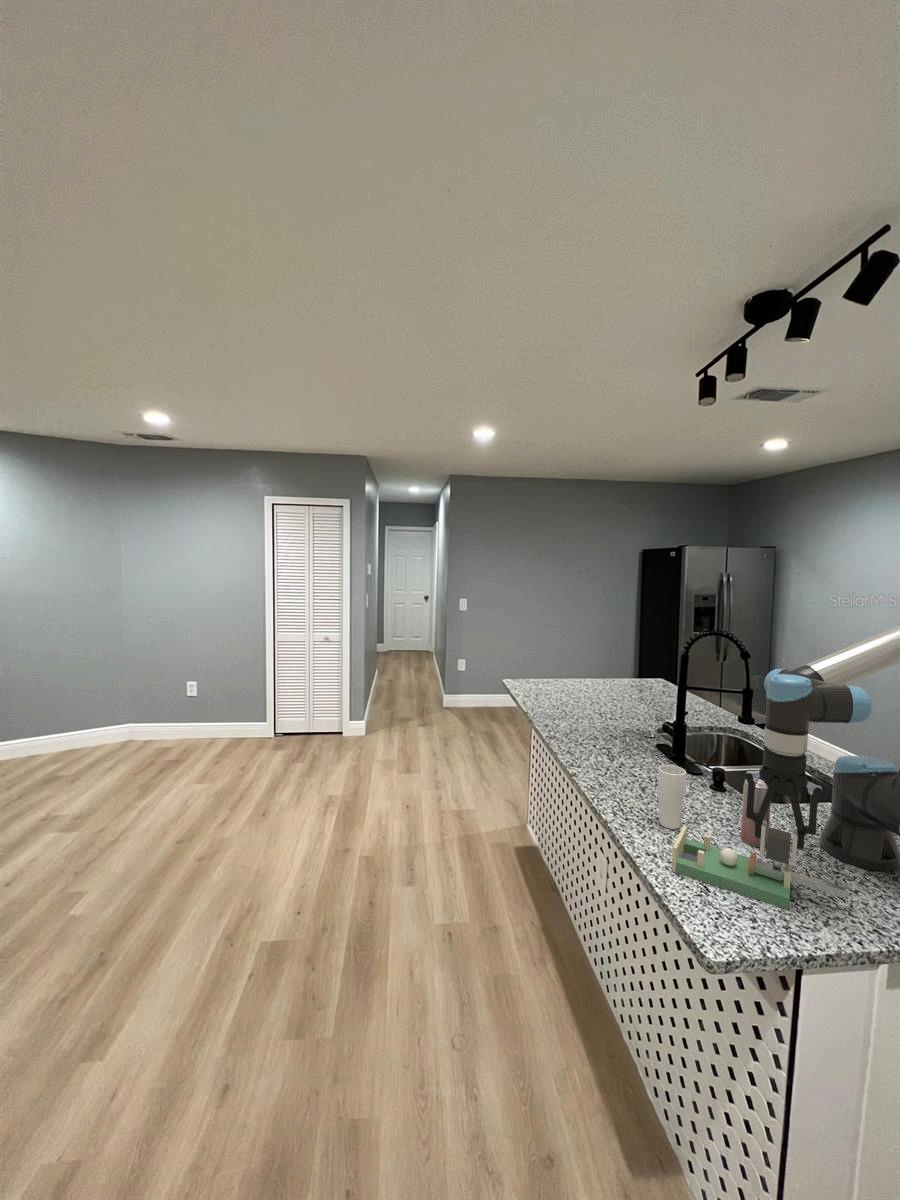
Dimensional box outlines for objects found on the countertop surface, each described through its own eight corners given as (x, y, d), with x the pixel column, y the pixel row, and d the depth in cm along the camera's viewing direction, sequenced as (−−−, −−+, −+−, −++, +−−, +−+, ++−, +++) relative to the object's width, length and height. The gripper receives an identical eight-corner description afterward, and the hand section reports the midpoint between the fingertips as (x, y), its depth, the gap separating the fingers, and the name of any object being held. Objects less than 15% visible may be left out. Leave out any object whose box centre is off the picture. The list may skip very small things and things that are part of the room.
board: (790, 880, 114) (792, 855, 113) (788, 909, 104) (790, 883, 104) (682, 847, 126) (683, 825, 126) (671, 871, 116) (672, 847, 116)
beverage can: (743, 832, 134) (746, 775, 132) (769, 840, 130) (773, 782, 129) (738, 842, 129) (741, 783, 128) (765, 850, 125) (769, 790, 124)
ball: (738, 863, 116) (739, 848, 115) (736, 871, 113) (737, 855, 113) (720, 858, 118) (721, 843, 117) (718, 865, 115) (719, 850, 115)
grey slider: (843, 891, 105) (847, 847, 105) (845, 902, 102) (848, 857, 101) (750, 863, 115) (752, 822, 114) (748, 873, 111) (750, 831, 110)
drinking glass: (667, 833, 133) (669, 776, 132) (650, 820, 139) (652, 765, 138) (689, 829, 135) (692, 773, 133) (671, 817, 141) (674, 763, 140)
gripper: (838, 754, 106) (829, 863, 108) (737, 736, 116) (731, 836, 118) (839, 765, 100) (830, 881, 102) (733, 745, 110) (727, 851, 112)
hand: (777, 857), depth 110 cm, fingers open, 5 cm apart
